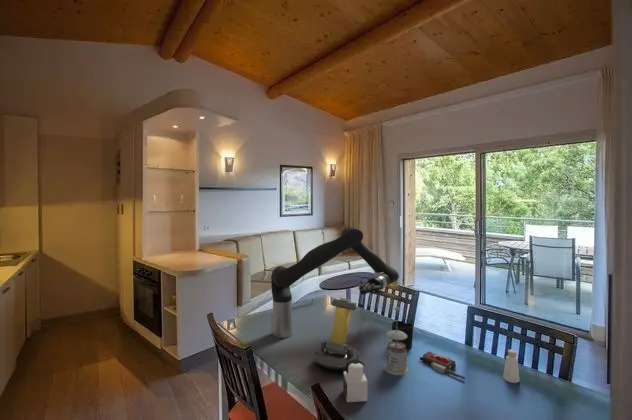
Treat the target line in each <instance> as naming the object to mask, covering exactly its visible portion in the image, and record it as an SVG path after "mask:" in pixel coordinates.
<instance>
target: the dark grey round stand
mask: <svg viewBox="0 0 632 420" xmlns="http://www.w3.org/2000/svg"><path fill="white" fill-rule="evenodd" d="M326 341H327V340H325V339H323V340H322V341H321V342H320V347H318V348H316V350H315V351H314V361H315V365H316V366H317V367H321V368H325V369H328V370H334V371H335V370H337V371H339V373H340V374H342V375H343V372H344V371H346V363H347V362H348V361H349V360H360V353H359V351H358V350H357V349H356V348H354V347H352V346H350V345H349V348H348V349H347V355H344V354H340V353H337V352H333V351H330V350H326Z"/></svg>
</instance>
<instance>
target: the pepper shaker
mask: <svg viewBox="0 0 632 420" xmlns="http://www.w3.org/2000/svg"><path fill="white" fill-rule="evenodd" d="M502 374H503V375H502V378H503V379H504V381H506V382H508V383H512V384H518V383H519V382H520V371H519V360H518V358H517V351H516V350H514V349H508V350H507V355H506V356H505V363H504V370H503V373H502Z"/></svg>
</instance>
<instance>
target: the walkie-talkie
mask: <svg viewBox="0 0 632 420" xmlns="http://www.w3.org/2000/svg"><path fill="white" fill-rule="evenodd" d="M419 360H420V361H422V363H424V364H426V365H429V366H431V367H432V368H433V370H434V371H437V372H439V373H441V374H445V373H446V374H449V375H451V376H454V377H457V378H460V379H463V380H466V377H465V376H464V375H463V376H462V375H461V374H458V373H456V372H453V371H452V370H455V369H456V367H457V363H456V361H455V360H453V359H451V358H450V357H449V356H445V355H444V354H442V353H440V354H437V353H436V352H432V351H427V352H425V353H424V354H423V355H422V356H420V357H419Z"/></svg>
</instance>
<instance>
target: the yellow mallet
mask: <svg viewBox="0 0 632 420" xmlns="http://www.w3.org/2000/svg"><path fill="white" fill-rule="evenodd" d="M331 306H332V307H335V313H334V319H333V325H332V326H333V327H332V332H331V339H330V340H325V341H326V350H330V351H333V352H337V353H340V354H344V355H347V349H348V348H349V346H350V344H346V342H347V335H348V328H349V321H350V318H351V317H350V316H351V310H352V311H355V310H357V303H356V302H352V301H351V299H350V298H344V297H339V299H336V298H333V299H332V301H331Z"/></svg>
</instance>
